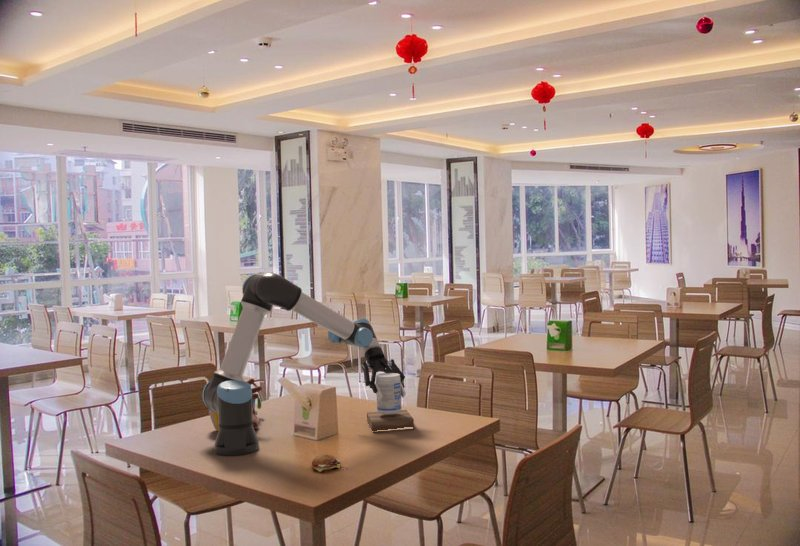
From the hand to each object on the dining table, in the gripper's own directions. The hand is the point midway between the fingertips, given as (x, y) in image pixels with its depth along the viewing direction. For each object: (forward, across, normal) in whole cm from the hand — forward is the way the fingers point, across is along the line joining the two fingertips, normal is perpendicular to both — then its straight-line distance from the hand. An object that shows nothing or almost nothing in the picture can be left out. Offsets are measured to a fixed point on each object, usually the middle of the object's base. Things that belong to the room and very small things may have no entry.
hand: (392, 397), depth 266 cm
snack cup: (-25, +44, -42) cm, 66 cm away
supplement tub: (+2, 0, -7) cm, 7 cm away
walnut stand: (+6, 0, -10) cm, 12 cm away
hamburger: (+32, +40, +14) cm, 53 cm away
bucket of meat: (-20, +61, -28) cm, 70 cm away
